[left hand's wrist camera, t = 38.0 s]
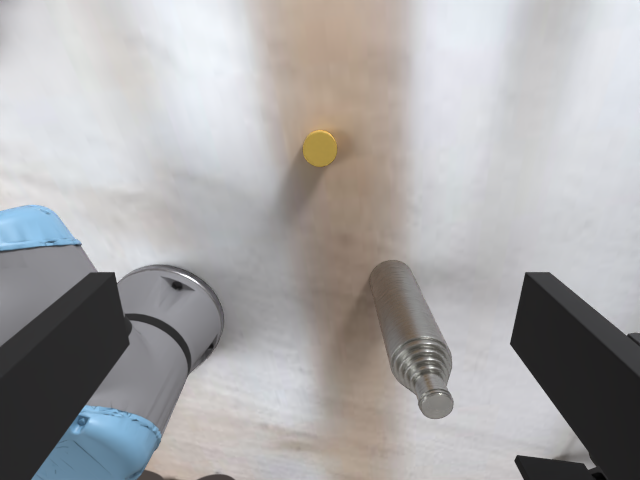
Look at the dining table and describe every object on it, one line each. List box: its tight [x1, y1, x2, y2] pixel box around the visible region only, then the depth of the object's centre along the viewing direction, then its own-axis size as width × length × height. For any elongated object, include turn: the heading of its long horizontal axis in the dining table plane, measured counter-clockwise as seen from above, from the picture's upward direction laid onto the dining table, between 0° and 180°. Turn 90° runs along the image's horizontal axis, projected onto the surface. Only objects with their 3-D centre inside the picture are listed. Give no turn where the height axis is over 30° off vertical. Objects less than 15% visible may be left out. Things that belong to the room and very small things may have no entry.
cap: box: [303, 130, 337, 167], centre depth 44 cm, size 4×4×2 cm
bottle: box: [370, 260, 454, 419], centre depth 41 cm, size 6×6×22 cm
